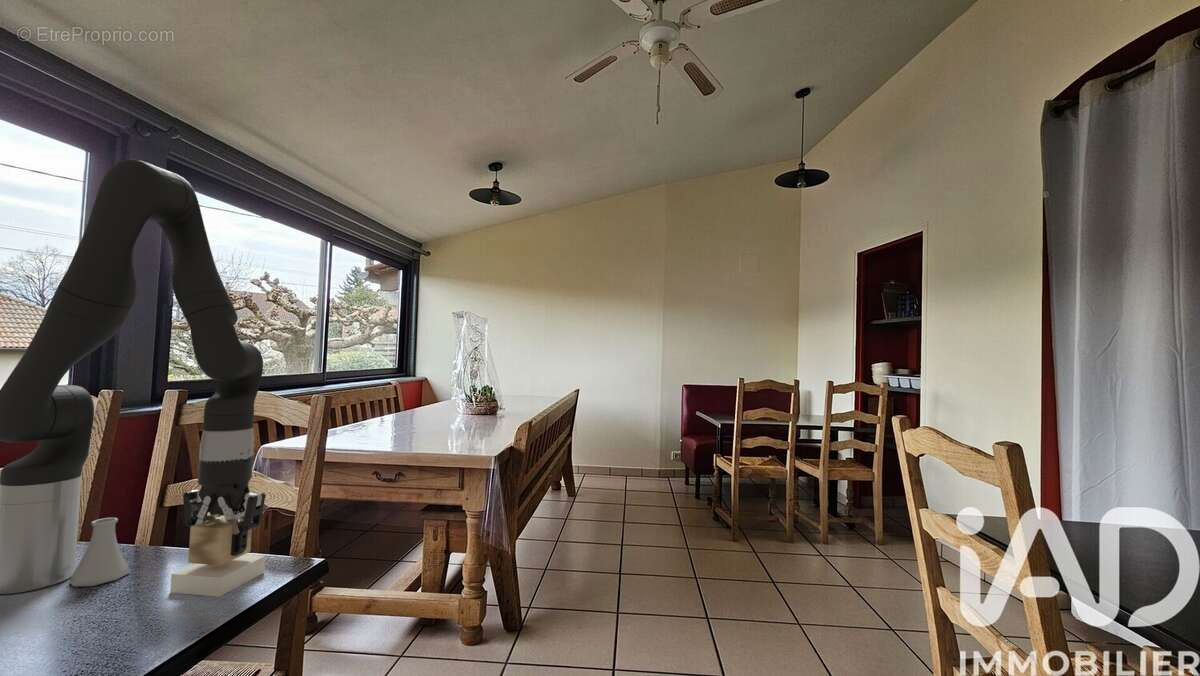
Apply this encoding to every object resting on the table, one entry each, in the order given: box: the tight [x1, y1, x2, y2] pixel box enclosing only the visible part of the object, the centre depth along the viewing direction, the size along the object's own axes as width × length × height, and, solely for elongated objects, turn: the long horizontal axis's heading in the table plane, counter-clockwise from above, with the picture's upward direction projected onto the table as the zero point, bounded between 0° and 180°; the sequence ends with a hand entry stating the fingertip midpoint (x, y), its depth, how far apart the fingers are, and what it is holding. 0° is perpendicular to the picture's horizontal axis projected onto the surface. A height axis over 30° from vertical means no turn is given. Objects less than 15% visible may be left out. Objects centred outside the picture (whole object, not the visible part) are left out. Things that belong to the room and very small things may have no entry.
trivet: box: [169, 554, 266, 598], centre depth 83 cm, size 9×9×3 cm
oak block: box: [187, 515, 253, 565], centre depth 84 cm, size 6×6×6 cm
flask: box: [68, 517, 131, 587], centre depth 84 cm, size 7×7×10 cm
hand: (220, 552), depth 84 cm, fingers closed on oak block, 6 cm apart
